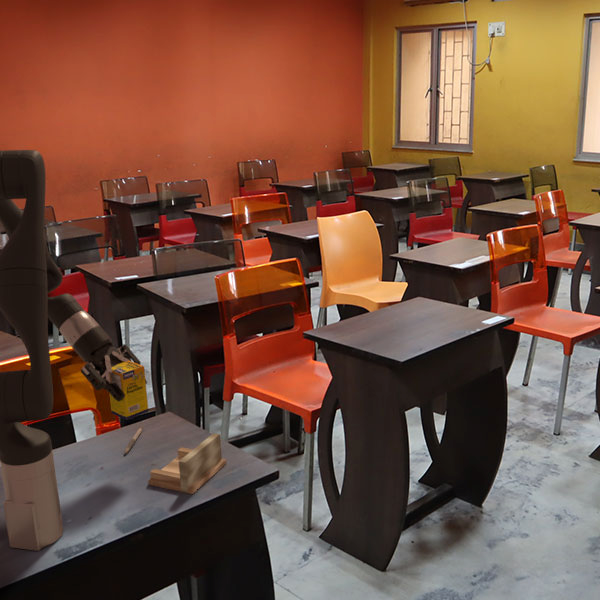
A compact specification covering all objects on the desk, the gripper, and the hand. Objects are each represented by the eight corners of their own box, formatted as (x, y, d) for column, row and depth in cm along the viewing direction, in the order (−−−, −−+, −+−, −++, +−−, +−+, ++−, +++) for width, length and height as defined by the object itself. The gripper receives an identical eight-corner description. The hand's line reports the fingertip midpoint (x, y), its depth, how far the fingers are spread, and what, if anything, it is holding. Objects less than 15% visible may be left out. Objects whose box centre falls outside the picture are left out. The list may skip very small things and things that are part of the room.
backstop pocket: (192, 494, 157) (189, 463, 155) (148, 484, 162) (145, 454, 160) (226, 463, 169) (224, 434, 167) (184, 455, 174) (182, 427, 172)
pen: (144, 430, 188) (144, 424, 188) (127, 456, 175) (127, 451, 174) (140, 430, 188) (140, 424, 188) (123, 456, 175) (122, 451, 175)
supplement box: (149, 411, 168) (144, 365, 165) (126, 420, 164) (121, 373, 161) (133, 404, 172) (128, 359, 169) (111, 413, 168) (105, 367, 165)
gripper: (71, 335, 159) (121, 394, 158) (114, 316, 172) (161, 370, 170) (54, 356, 163) (104, 414, 161) (98, 336, 175) (144, 389, 174)
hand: (133, 392), depth 166 cm, fingers closed on supplement box, 7 cm apart
